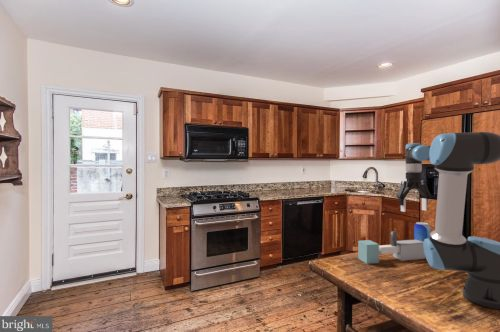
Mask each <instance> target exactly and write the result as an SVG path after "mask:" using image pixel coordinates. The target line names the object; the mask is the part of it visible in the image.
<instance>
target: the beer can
mask: <svg viewBox="0 0 500 332" xmlns="http://www.w3.org/2000/svg"><path fill="white" fill-rule="evenodd" d="M413 229H414V230H413V235H414V236H413V238H414V239H413V240H415V239H416V240H419V241H422V242H424V239H427V238H429V239H430V233H431V232H432V229H431V226H430V225H429V223H428V222H424V221H423V222H422V221H417V222H415V225H414V226H413Z"/></svg>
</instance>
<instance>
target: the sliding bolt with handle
mask: <svg viewBox="0 0 500 332" xmlns="http://www.w3.org/2000/svg"><path fill="white" fill-rule="evenodd" d="M397 233H398V232H397V231H396V230H395V231H394V230H390V244H383V245H380V244H379V255H388V254H393V253H400V245H398V244H397V241H398V240H397V239H398V238H397V237H398V236H397V235H398V234H397Z"/></svg>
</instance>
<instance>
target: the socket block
mask: <svg viewBox="0 0 500 332" xmlns="http://www.w3.org/2000/svg"><path fill="white" fill-rule="evenodd" d="M357 244H358V245H357V246H358V247H357V249H358V250H357V251H358V253H357V259H358V260H360V261H362V262H363V263H364V264H366V265H369V264H379V263H380V253H379V245H380V244H379V243H377V242H375V241H373V240H370V239H366V240H364V239H362V240H358V241H357Z"/></svg>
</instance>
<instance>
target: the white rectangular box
mask: <svg viewBox="0 0 500 332" xmlns="http://www.w3.org/2000/svg"><path fill="white" fill-rule="evenodd" d="M397 244H398V245H400V253H392V257H393V258H395V259H398V260H399V261H411V260H412V261H414V260H424V259H426V256H425V253H424V247H423V242H422V241H419V240H416V239H415V240H414V239H405V240H404V239H403V240H397Z"/></svg>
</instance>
